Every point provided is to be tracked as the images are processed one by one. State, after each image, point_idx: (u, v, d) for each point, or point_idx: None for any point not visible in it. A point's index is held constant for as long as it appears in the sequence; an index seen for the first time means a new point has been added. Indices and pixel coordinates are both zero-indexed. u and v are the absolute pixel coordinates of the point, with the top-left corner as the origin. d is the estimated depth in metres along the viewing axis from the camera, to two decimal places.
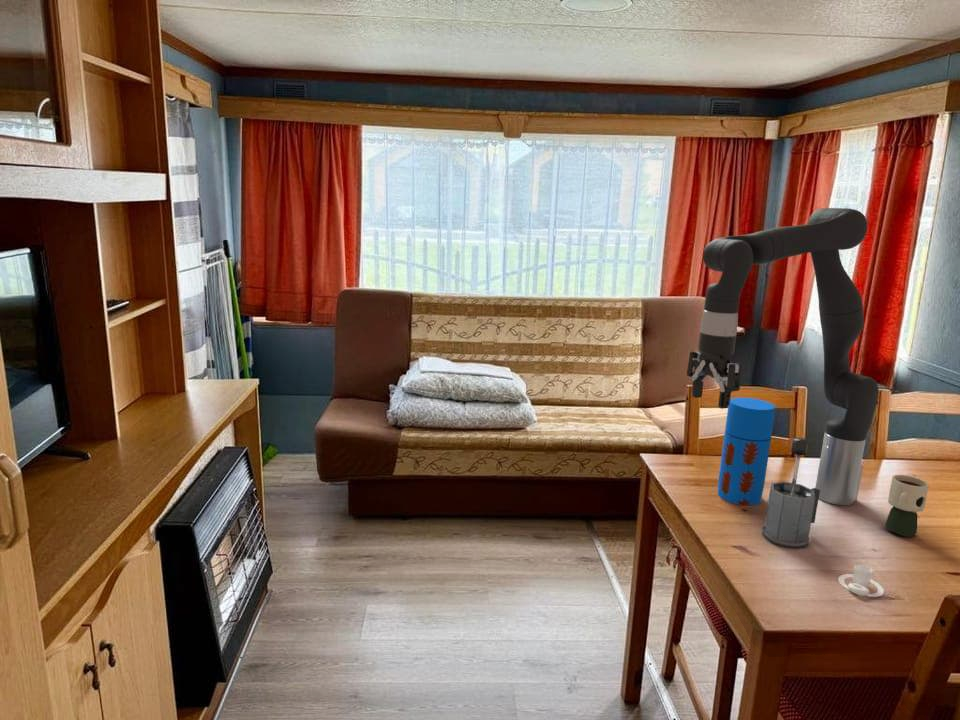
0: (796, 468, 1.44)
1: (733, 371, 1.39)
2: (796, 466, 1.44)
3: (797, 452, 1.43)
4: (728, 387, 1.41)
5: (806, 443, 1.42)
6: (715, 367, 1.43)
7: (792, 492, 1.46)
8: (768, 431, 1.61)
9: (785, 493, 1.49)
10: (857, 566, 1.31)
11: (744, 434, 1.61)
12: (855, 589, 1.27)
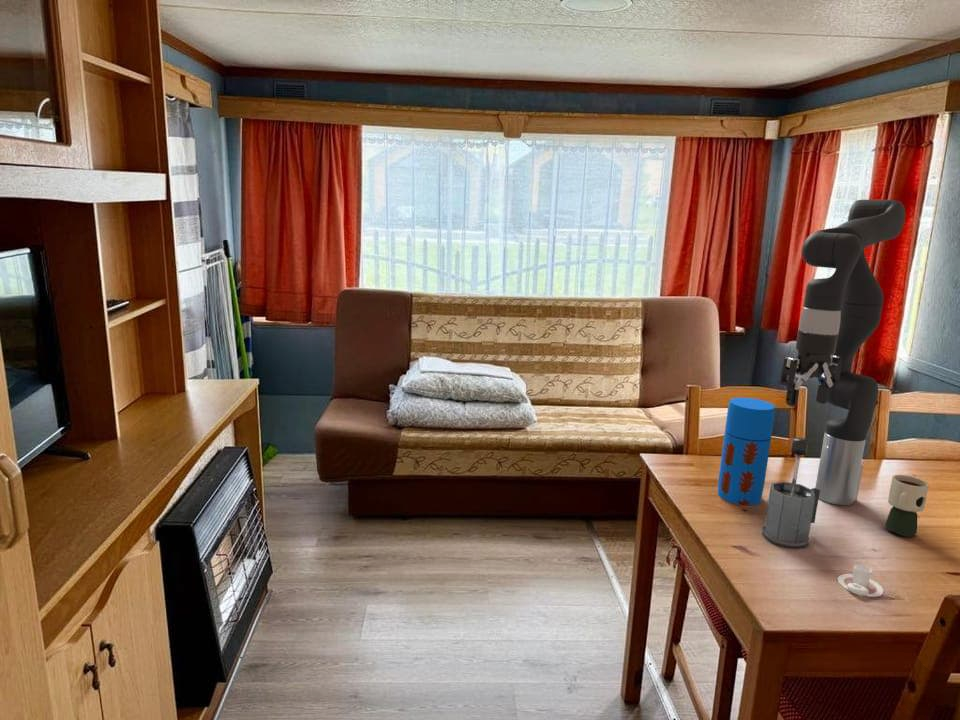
0: (796, 468, 1.44)
1: None
2: (796, 466, 1.44)
3: (797, 452, 1.43)
4: (837, 380, 1.41)
5: (806, 443, 1.42)
6: None
7: (792, 492, 1.46)
8: (768, 431, 1.61)
9: (785, 493, 1.49)
10: (856, 566, 1.31)
11: (744, 434, 1.61)
12: (854, 589, 1.27)
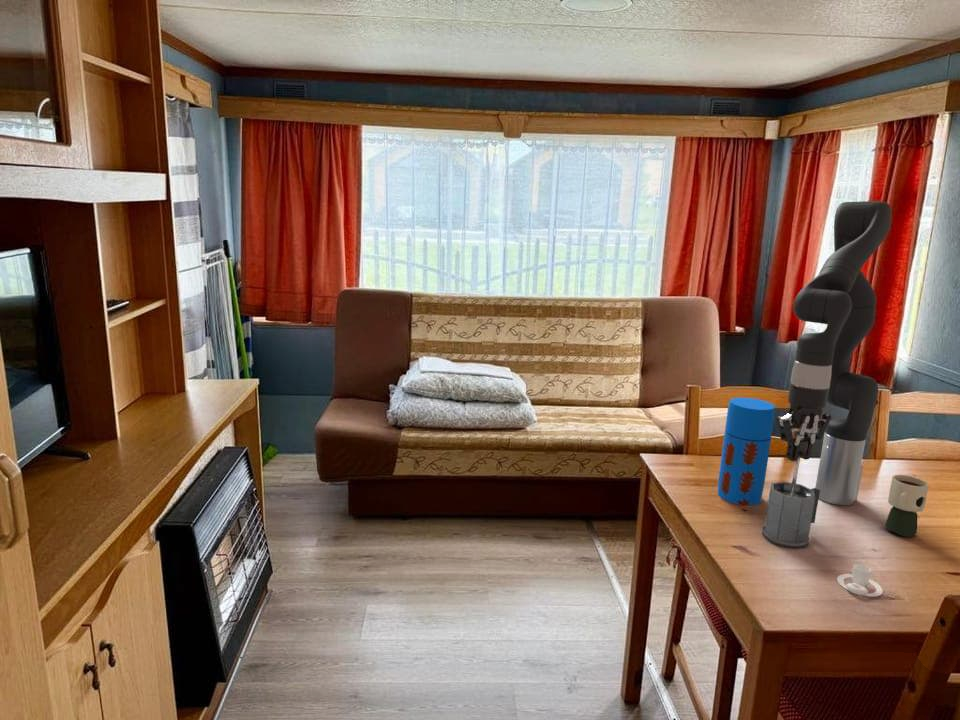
0: (796, 468, 1.44)
1: None
2: (796, 466, 1.44)
3: None
4: (820, 436, 1.43)
5: (806, 443, 1.42)
6: None
7: (792, 492, 1.46)
8: (768, 431, 1.61)
9: (785, 493, 1.49)
10: (856, 566, 1.31)
11: (744, 434, 1.61)
12: (854, 589, 1.27)
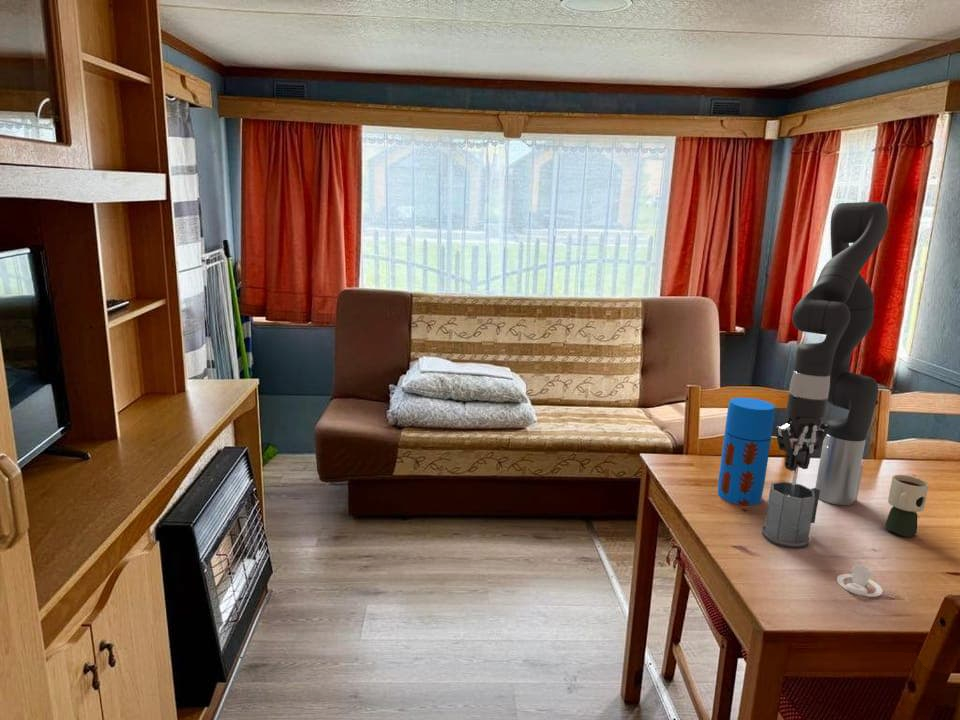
0: (794, 478, 1.45)
1: None
2: (794, 476, 1.45)
3: None
4: (818, 446, 1.44)
5: (804, 453, 1.42)
6: None
7: None
8: (768, 431, 1.61)
9: None
10: (855, 566, 1.31)
11: (744, 434, 1.61)
12: (853, 589, 1.27)
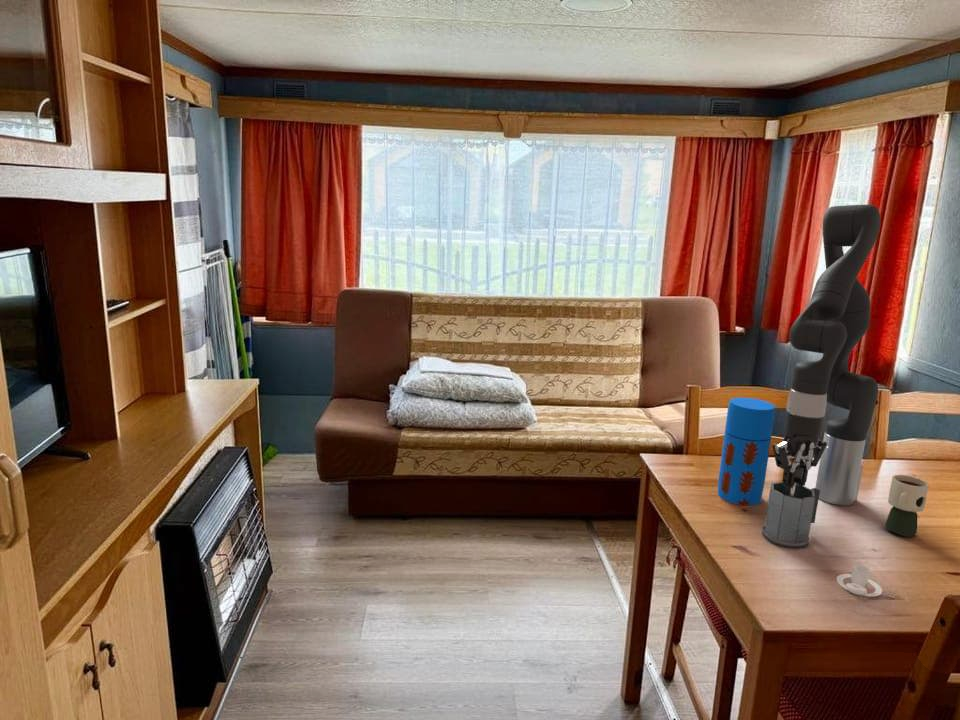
0: (792, 494, 1.46)
1: None
2: (792, 492, 1.46)
3: None
4: (815, 463, 1.45)
5: (802, 470, 1.43)
6: None
7: None
8: (768, 431, 1.61)
9: None
10: (855, 566, 1.31)
11: (744, 434, 1.61)
12: (853, 589, 1.27)
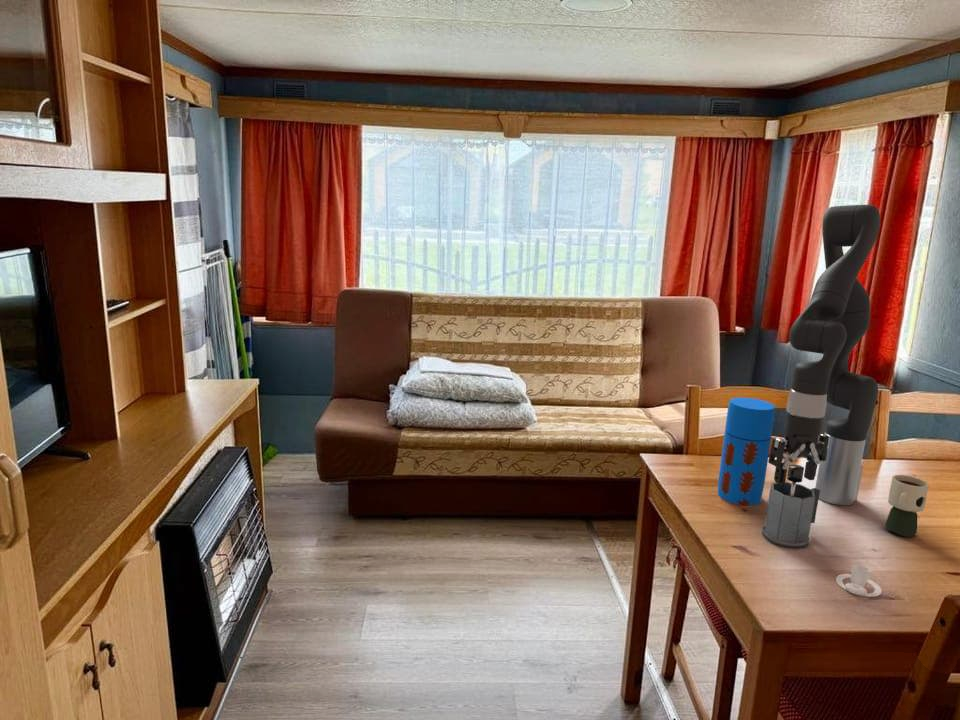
0: (792, 495, 1.46)
1: None
2: (792, 493, 1.46)
3: (793, 479, 1.44)
4: (824, 457, 1.45)
5: (802, 470, 1.43)
6: None
7: None
8: (768, 431, 1.61)
9: None
10: (855, 566, 1.31)
11: (744, 434, 1.61)
12: (852, 589, 1.27)
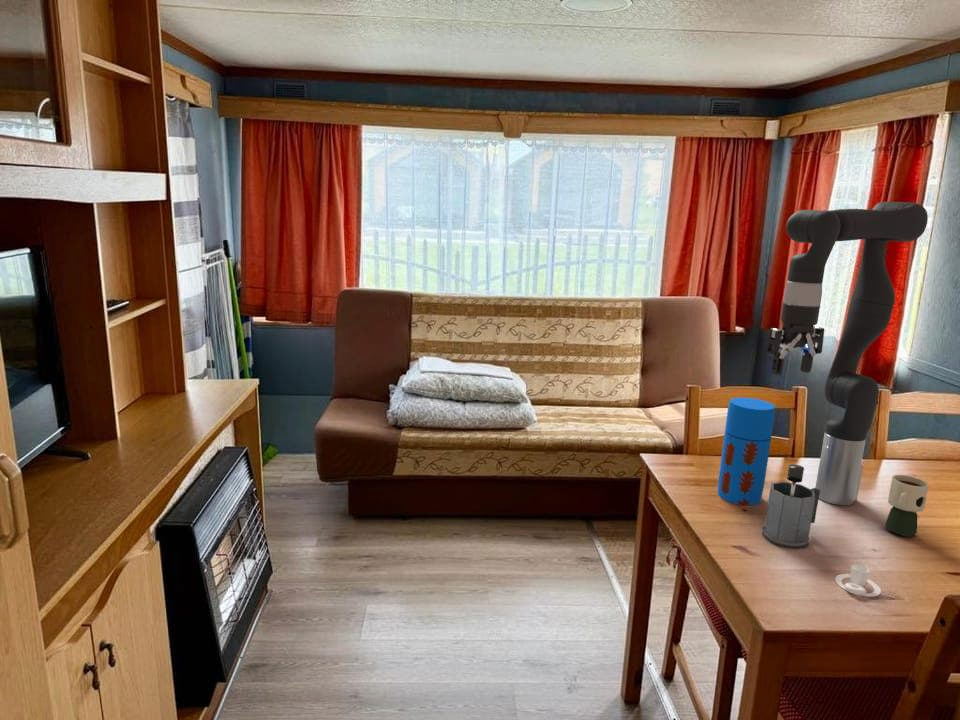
0: (792, 495, 1.46)
1: None
2: (792, 493, 1.46)
3: (793, 479, 1.44)
4: (820, 350, 1.50)
5: (802, 470, 1.43)
6: None
7: None
8: (768, 431, 1.61)
9: None
10: (854, 566, 1.31)
11: (744, 434, 1.61)
12: (852, 589, 1.27)
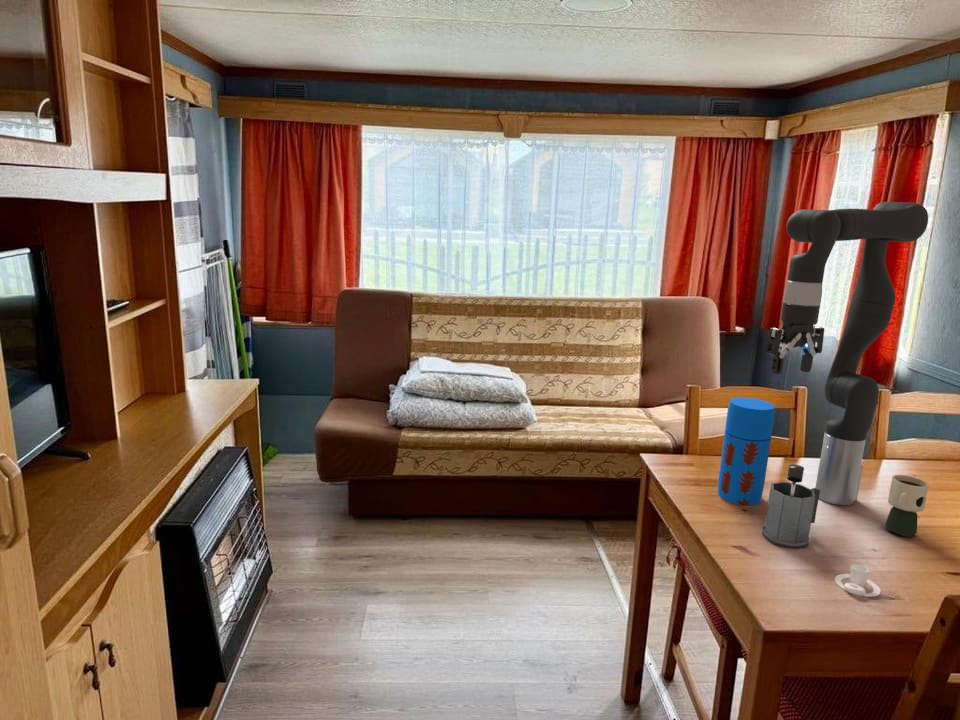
0: (792, 495, 1.46)
1: None
2: (792, 493, 1.46)
3: (793, 479, 1.44)
4: (819, 349, 1.50)
5: (802, 470, 1.43)
6: None
7: None
8: (768, 431, 1.61)
9: None
10: (854, 566, 1.31)
11: (744, 434, 1.61)
12: (851, 589, 1.27)
